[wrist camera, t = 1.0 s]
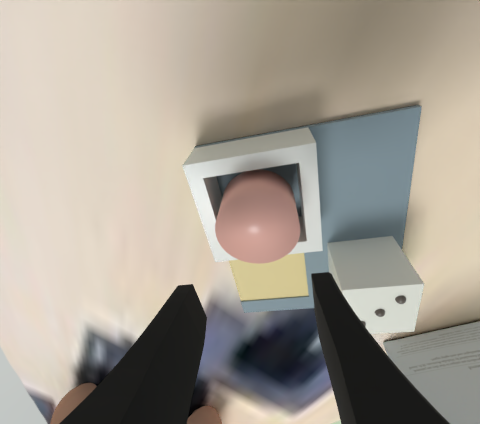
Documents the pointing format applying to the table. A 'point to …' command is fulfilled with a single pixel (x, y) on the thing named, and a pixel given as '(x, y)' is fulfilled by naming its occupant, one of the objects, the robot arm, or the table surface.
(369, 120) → the board
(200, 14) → the table surface
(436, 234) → the table surface
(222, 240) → the button
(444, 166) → the table surface
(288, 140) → the collar
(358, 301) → the die
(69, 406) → the medical training model
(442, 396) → the supplement box
